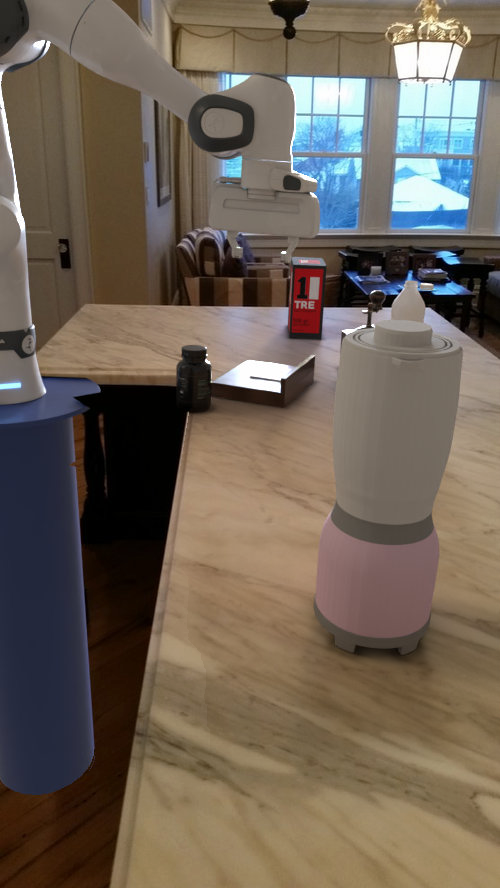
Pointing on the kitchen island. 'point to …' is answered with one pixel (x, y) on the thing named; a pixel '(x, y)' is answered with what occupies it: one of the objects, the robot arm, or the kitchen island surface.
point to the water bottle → (410, 303)
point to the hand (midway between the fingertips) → (261, 260)
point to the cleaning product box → (306, 297)
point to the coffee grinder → (369, 311)
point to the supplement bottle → (194, 380)
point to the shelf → (265, 382)
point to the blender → (386, 484)
